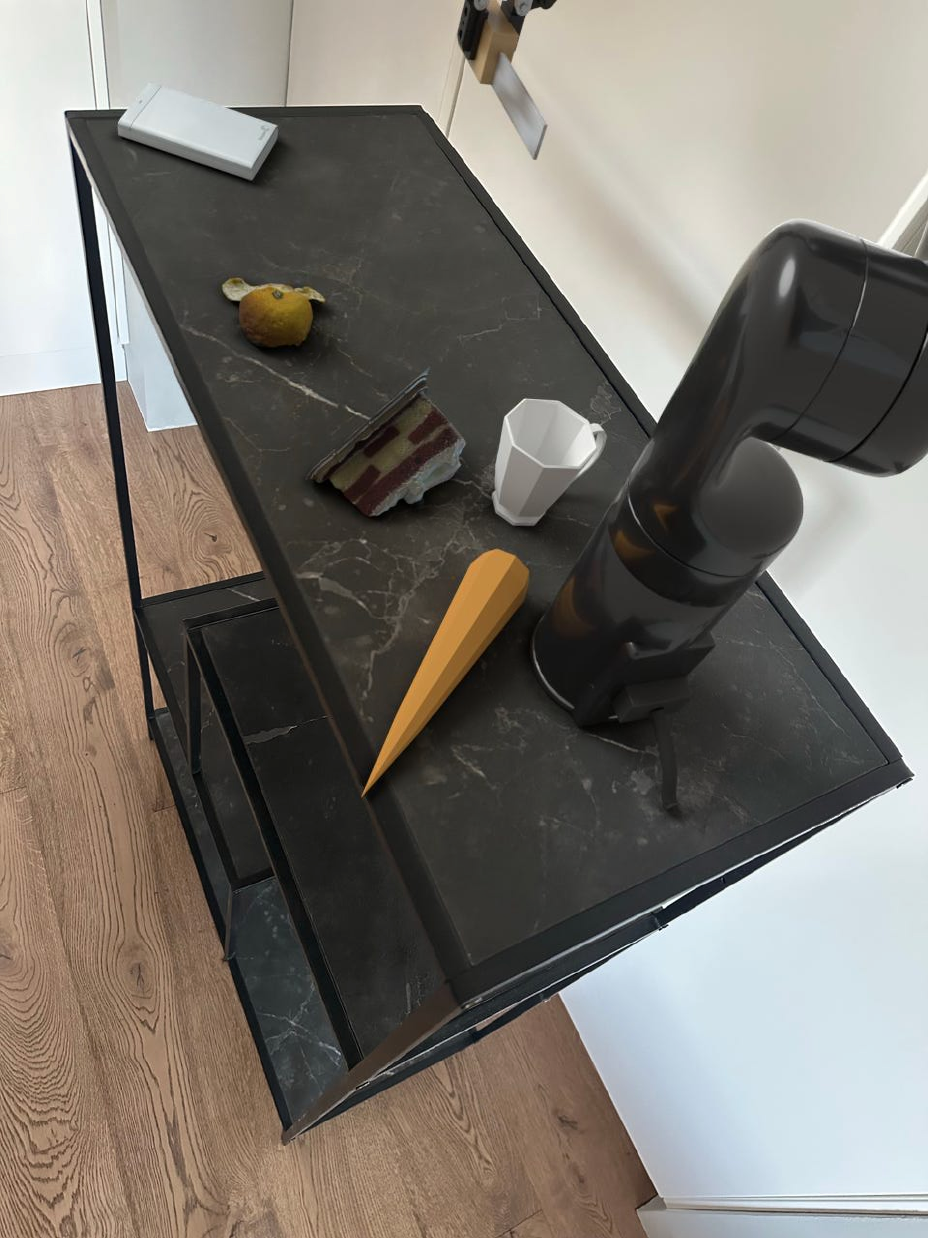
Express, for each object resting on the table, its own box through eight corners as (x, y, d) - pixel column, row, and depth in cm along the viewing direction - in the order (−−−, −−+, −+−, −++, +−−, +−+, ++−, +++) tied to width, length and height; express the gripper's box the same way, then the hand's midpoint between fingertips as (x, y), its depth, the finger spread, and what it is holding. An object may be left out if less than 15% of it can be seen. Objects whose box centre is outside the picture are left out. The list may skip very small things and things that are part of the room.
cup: (457, 484, 70) (485, 408, 63) (556, 451, 74) (592, 378, 68) (506, 552, 67) (540, 481, 61) (606, 514, 72) (647, 444, 65)
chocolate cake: (365, 553, 64) (490, 438, 62) (298, 478, 64) (421, 359, 61) (390, 539, 74) (500, 438, 71) (331, 474, 73) (440, 370, 71)
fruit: (321, 291, 77) (326, 255, 74) (328, 359, 73) (334, 323, 70) (221, 281, 75) (222, 242, 72) (222, 350, 71) (224, 312, 68)
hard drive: (278, 123, 87) (151, 77, 85) (252, 166, 82) (116, 119, 81) (277, 139, 88) (151, 95, 87) (251, 183, 83) (117, 137, 82)
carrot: (526, 541, 61) (547, 587, 64) (472, 536, 63) (494, 581, 66) (372, 786, 51) (405, 827, 54) (316, 768, 53) (350, 809, 56)
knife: (457, 43, 73) (469, -8, 70) (482, 46, 74) (494, -5, 71) (521, 158, 65) (537, 106, 62) (548, 160, 66) (565, 109, 63)
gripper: (625, -226, 62) (544, 40, 76) (437, -273, 57) (388, 21, 71) (668, -179, 58) (575, 91, 72) (471, -225, 53) (413, 74, 67)
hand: (482, 55), depth 71 cm, fingers closed on knife, 2 cm apart
